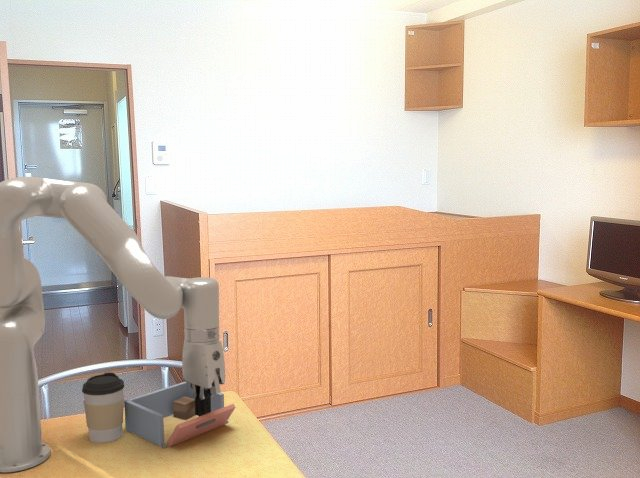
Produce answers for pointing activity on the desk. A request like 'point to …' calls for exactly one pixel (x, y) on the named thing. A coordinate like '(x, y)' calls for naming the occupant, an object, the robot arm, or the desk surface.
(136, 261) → the robot arm
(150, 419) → the tray
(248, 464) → the desk surface
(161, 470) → the desk surface
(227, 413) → the tailgate
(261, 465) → the desk surface
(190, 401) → the cargo block
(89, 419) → the coffee cup
